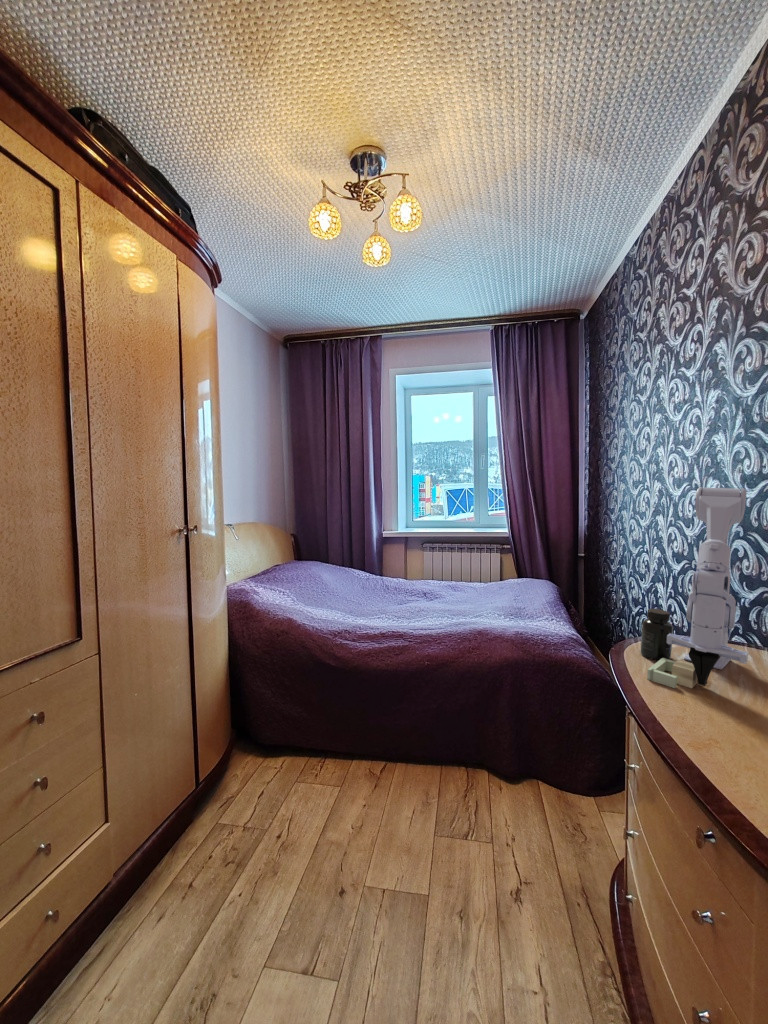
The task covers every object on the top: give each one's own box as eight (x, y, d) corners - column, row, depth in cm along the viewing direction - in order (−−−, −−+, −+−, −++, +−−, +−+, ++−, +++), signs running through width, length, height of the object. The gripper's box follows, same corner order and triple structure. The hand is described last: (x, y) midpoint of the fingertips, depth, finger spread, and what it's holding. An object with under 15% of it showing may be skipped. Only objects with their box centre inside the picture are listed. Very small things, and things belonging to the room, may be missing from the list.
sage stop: (661, 667, 110) (662, 657, 110) (688, 675, 106) (689, 665, 106) (647, 679, 103) (647, 669, 103) (674, 688, 99) (675, 678, 99)
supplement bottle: (675, 663, 112) (679, 616, 111) (645, 660, 114) (649, 614, 113) (664, 652, 119) (667, 608, 118) (636, 649, 120) (639, 606, 119)
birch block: (676, 676, 105) (677, 660, 105) (696, 682, 102) (698, 665, 102) (671, 681, 102) (672, 665, 102) (691, 688, 99) (693, 671, 99)
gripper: (663, 619, 101) (659, 677, 102) (745, 638, 90) (739, 702, 91) (674, 613, 106) (669, 668, 107) (752, 630, 95) (746, 691, 96)
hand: (702, 683), depth 99 cm, fingers closed
